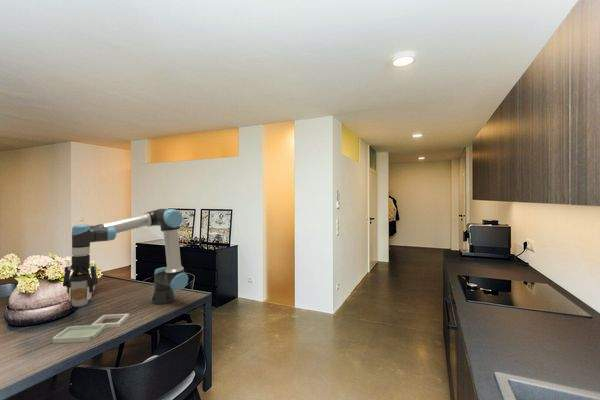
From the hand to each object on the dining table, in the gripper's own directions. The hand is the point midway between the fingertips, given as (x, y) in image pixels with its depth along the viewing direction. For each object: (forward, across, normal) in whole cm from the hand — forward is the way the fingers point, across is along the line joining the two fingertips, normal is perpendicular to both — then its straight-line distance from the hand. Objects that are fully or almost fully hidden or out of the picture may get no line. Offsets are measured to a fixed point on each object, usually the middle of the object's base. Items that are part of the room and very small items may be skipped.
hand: (80, 299), depth 148 cm
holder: (+19, -8, -15) cm, 25 cm away
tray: (+19, 0, 0) cm, 19 cm away
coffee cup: (+3, 0, 0) cm, 3 cm away
